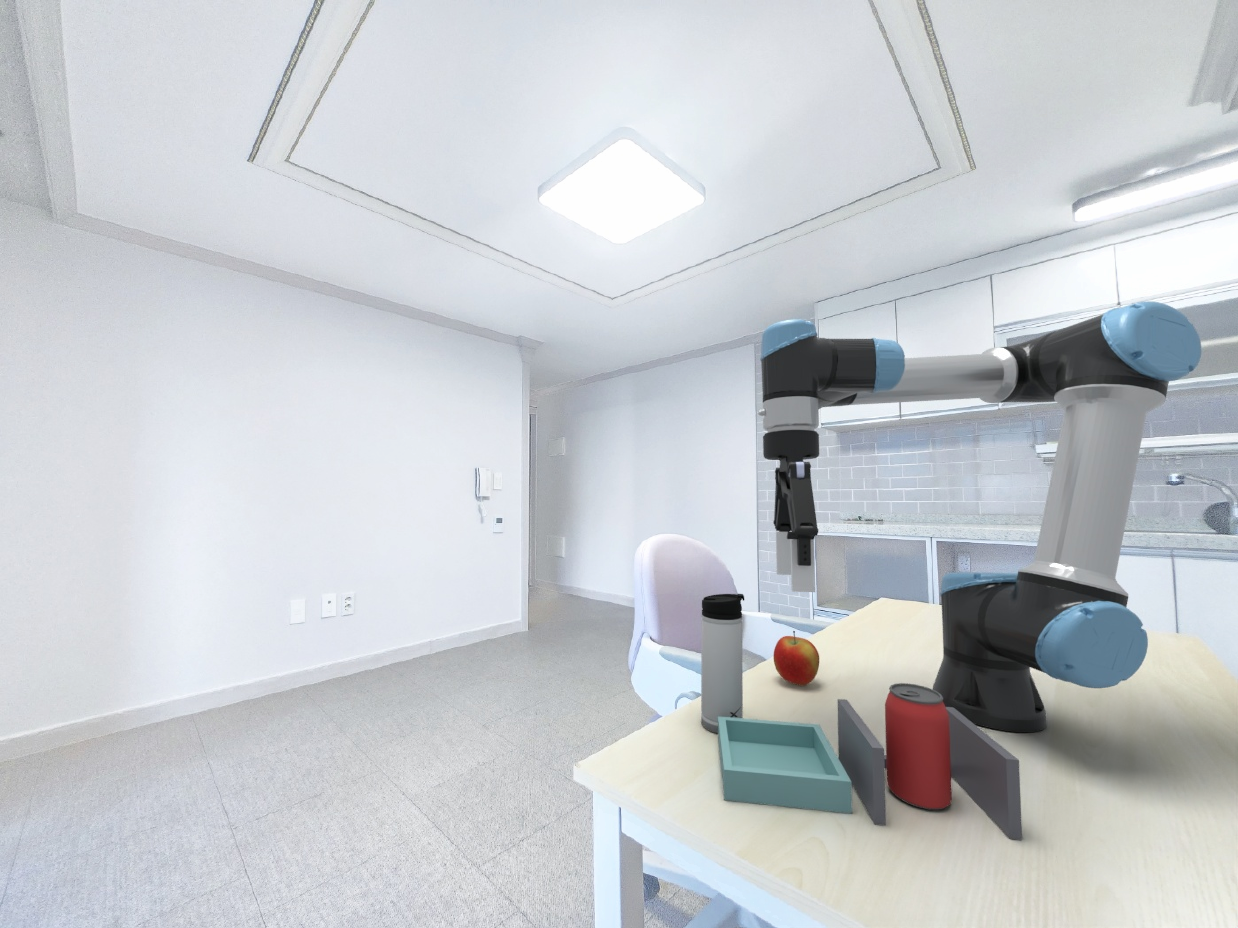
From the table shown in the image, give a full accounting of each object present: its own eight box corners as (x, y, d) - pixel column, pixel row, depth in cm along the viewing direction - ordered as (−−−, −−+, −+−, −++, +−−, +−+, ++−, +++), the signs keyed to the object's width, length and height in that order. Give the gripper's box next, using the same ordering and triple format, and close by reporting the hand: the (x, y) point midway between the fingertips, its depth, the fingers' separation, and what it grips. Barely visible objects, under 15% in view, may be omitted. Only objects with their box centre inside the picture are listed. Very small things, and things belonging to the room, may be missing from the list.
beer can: (875, 780, 61) (873, 681, 62) (924, 778, 61) (922, 680, 62) (911, 814, 54) (908, 703, 55) (966, 811, 55) (962, 702, 56)
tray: (819, 749, 68) (819, 724, 68) (851, 813, 54) (851, 781, 55) (717, 740, 70) (718, 716, 70) (724, 799, 56) (724, 769, 57)
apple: (827, 684, 92) (827, 631, 93) (805, 695, 87) (805, 638, 87) (789, 672, 98) (788, 622, 99) (766, 682, 93) (765, 628, 94)
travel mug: (746, 737, 71) (745, 598, 73) (700, 732, 73) (700, 596, 74) (743, 718, 77) (743, 591, 79) (701, 714, 79) (702, 589, 80)
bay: (955, 770, 63) (953, 707, 64) (1022, 839, 50) (1018, 759, 51) (838, 760, 65) (837, 698, 66) (874, 824, 53) (872, 747, 53)
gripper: (754, 441, 82) (757, 568, 81) (774, 418, 58) (778, 599, 56) (801, 440, 81) (804, 569, 80) (841, 416, 56) (847, 601, 55)
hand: (794, 582), depth 68 cm, fingers open, 13 cm apart
